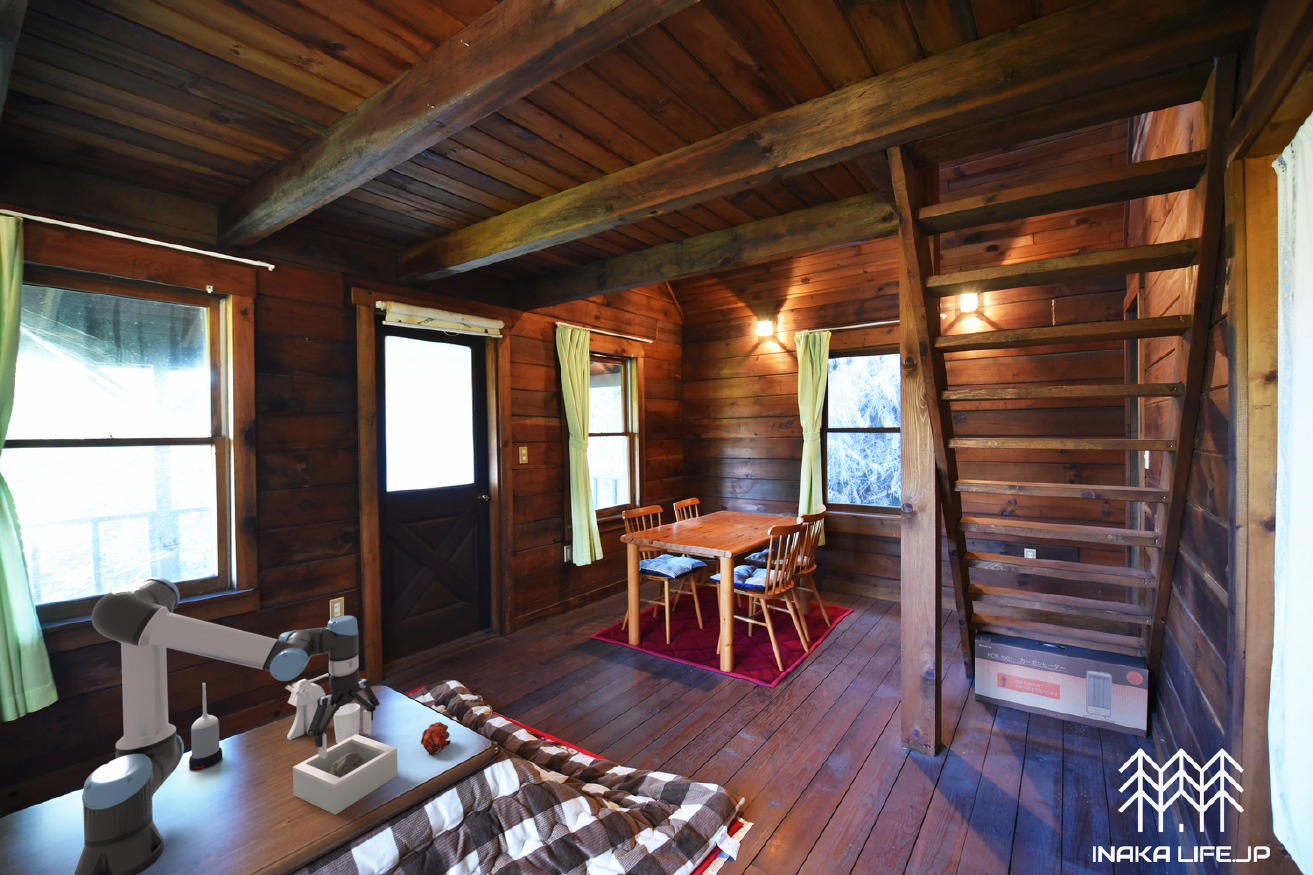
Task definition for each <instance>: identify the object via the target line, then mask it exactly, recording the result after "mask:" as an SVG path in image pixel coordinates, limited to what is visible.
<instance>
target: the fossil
mask: <svg viewBox="0 0 1313 875" xmlns="http://www.w3.org/2000/svg"><path fill="white" fill-rule="evenodd" d="M365 763H366V761H365V759H364V758H363V757H361V756H360V754H358V753H349V754H347V755H344V756H343V757H342V758H340V759H338V761H335V762H334V763H333V764H332V766H331V768H330V771H329V774H332V775H334V776H336V777H339V778H341V777H343V776H345V775H346V774H348V773H350V772H352V771H353V770H355V769H357V768H358V767H360V766H362V765H364V764H365Z"/></svg>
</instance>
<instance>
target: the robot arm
mask: <svg viewBox="0 0 1313 875" xmlns="http://www.w3.org/2000/svg"><path fill="white" fill-rule="evenodd" d="M180 594H181V593H180V591H179V589H178V586H176V585H175V583H173V582H172V581H170V580H168V579H167V578H163V577H157V576H149V577H148V576H147V577H145V578H141V579H140V578H139V579H136V580H133V581H131V582H130V583H128V584H126V585H124V586H122V587H120V588H117V589H115V590H112V591H110V592H108V593H107V594H105V595H104V596H102V597H101V598H100V599H99V600H98V601H97V602H96V604H95V606H94V607H93V610H92V612H91V624H92V626H93V628H94V629H95V631H97V632H98V633H99V634H100V635H102V636H103V637H104V638H107V639H110V640H113V641H115V642H118V643H120V647H121V648H120V650H121V651H120V652H121V683H122V689H121V690H122V716H123V717H122V720H123V721H122V722H123V724H122V725H123V735H122V736H121V737H120V739H119V740H117V741H116V742H115V759H113V760H110V761H109V762H108V763H106V764H103V765H100V766H99V767H98V768H96V769H95V770H94V771H93V772H92V773H91V774H89V776H88V777H87V778H86V780H85V781H84V785H83V791H82V795H81V800H82V806H83V807H82V808H83V809H82V810H83V812H82V813H83V837H84V844H83V845H84V846H83V850H82V852H81V853H80V857H79V860H78V862H77V865H76V867H75V871H74V874H73V875H137V874H138V873H139V874H141V873H142V872H144V871H146V870H147V869H148V868H149V866H150V867H151V866H152V865H153V864H154V863H156V861H158V859H159V858H160V857H161V855H162V854H163V851H164V840H163V837H162V835H161V833H160V831H159V830H158V828H157V826H156V824H155V821H154V818H153V816H154V815H153V797H154V795H155V793H156V792H157V791H158V790H159V789H160V787H161V786H162V785H163V784H164V783H165V782H166V780H167V779H168V778H169V777H170V776H171V775H172V774H173V773H174V772H175V770H177V768H178V766H179V765H180V763H181V762H180V761H181V760H182V757H183V755H184V752H185V745H184V741H183V739H182V736H180V735H177V727H176V726H175V725H174V724H172V723H169V702H168V701H169V699H168V697H169V696H168V668H167V665H168V663H167V662H168V661H167V659H168V658H167V649H171V650H175V651H180V652H184V653H189V654H193V655H197V656H201V657H207V658H211V659H215V660H217V661H218V660H219V661H224V662H226V663H227V662H229V663H232V664H235V665H236V664H237V665H242V666H244V667H245V666H246V667H250V668H253V669H254V668H255V669H259V670H263V671H266V672H270V675H271V676H272V677H273V678H274V679H275V680H277V681H280V682H288V681H291V680H293V679H296V678H297V677H298V676H299V675H301V673H302V672H303V671H304V670H305V669H306V668H307V665H308V664H309V661H310V660H311V658H312V657H317V656H321V655H322V656H324V655H327V654H328V674H329V676H328V678H329V679H328V680H329V682H328V683H329V685H328V686H329V691H330V692H329V694H328V695H325V696H324V697H323V696H320V697H319V700H317V705H318V707H317V709H316V712H315V714H314V717H313V720H312V722H311V725H310V727H309V730H308V732H307V734H306V735H308V736H310V737H313V738H314V744H315V747H317V752H318V753H317V754H318V756H319V757H321V758H324V759H325V758H326V757H327V749H328V747H327V733H325V731H326V730H327V728H328V727H329V725H330V723H331V721H332V719H334V714H335V713H336V711H337V710H339V708H340V707H341V706H344V705H347V704H351V703H352V702H353V701H355V702H356V704H359V705H360V707H362V708H364V710H363V711H362V718H363V719H362V725H363V729H362V730H363V733H364V734H366V735H369V736H370V735H371V734H372V732H373V731H372V721H373V720H374V712H375V711H376V710H377V707H378V706H379V705H380V701H379V700H378V698H377V696H376V694H375V693H374V691H373V690H372V687H371V686H370V681H369V679H366V678H360V669H359V664H360V663H359V629H358V619H357V618H356V616H353V615H341V616H336V617H334V618H331V619H330V620H328V621H327V626H324V627H323V626H322V627H316V628H307V629H294V630H292V631H287V632H283V633H281V634H280V635H279V636H278V639H277V638H273V637H270V636H265V635H261V634H258V633H254V632H249V631H246V630H245V631H244V630H241V629H238V628H235V627H234V628H233V627H230V626H225V625H221V624H217V623H213V622H209V621H205V620H201V619H199V618H198V619H197V618H194V617H189V616H185V615H181V614H178V613H174V610H176V609H177V606H178V604H179V602H180V598H181V595H180ZM360 689H361V690H362V692H363V693H364V696H365V697H366V698H367V700H368V701H367V700H366V699H365V698H363V697H362V696H361V695H360V694H359V693H358V692H359V690H360ZM146 868H147V869H146ZM140 872H141V873H140ZM139 874H138V875H139Z"/></svg>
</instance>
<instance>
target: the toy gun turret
mask: <svg viewBox="0 0 1313 875" xmlns="http://www.w3.org/2000/svg"><path fill="white" fill-rule="evenodd" d="M329 676H330V673H329V672H328V673H325V674H323V675H320V676H317V677H316V678H315V677H314V678H312V679H306V678H303V679H300V680H298V681H297V682H292V683H291V685H290V684H287V685H286V686H285V688H284V689H286V690H288V691H289V692H290V693H291V694H290V697H289V699H288V701H287V703H288V704H290V705H292V706H295V707H296V713H295V718H294V721H293V723H292V725H291V728H290V730H289V731H288V733H287V735H286V739H287V740H290V741H291V740H293V739H296V738H298V737H301V736H303V735H305V734H306V735H308V734H307V732H308V730H309V727H310V725H311V722H312V720H313V717H314V714H315V712H316V709H317V707H318V700H319V697H320V696H323V697H325V696H327V695H326V693H325V690H324V688H323V687H322V686H321V685H318V684H316V683H314V682H315V681H318V680H320V679H324V678H325V677H329Z"/></svg>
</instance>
